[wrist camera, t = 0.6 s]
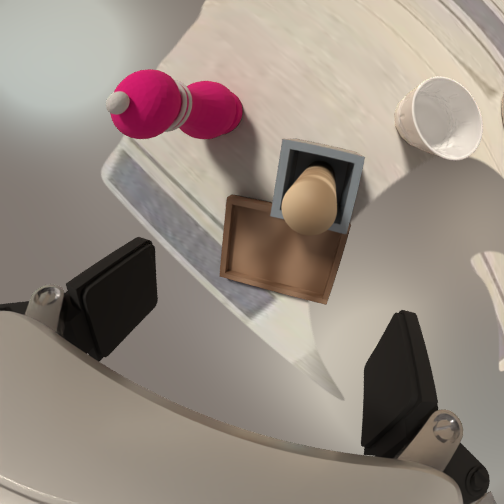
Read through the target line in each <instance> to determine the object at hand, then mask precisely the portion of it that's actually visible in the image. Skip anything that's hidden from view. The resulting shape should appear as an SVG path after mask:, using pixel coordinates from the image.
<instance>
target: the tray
mask: <svg viewBox="0 0 504 504" xmlns="http://www.w3.org/2000/svg"><path fill="white" fill-rule="evenodd" d="M271 208H272V203H271V202H267V201H262V200H257V199H252V198H247V197H242V196H237V195H230V196H228V197H227V202H226V212H225V222H224V232H223V243H222V254H221V265H220V277H224V278H227V279H231V280H234V281H238V282H242V283H245V284H249V285H252V286H256V287H260V288H264V289H267V290H271V291H275V292H279V293H282V294H286V295H290V296H294V297H298V298H302V299H306V300H310V301H314V302H318V303H322V304H327V301H328V298H329V295H330V292H331V289H332V286H333V283H334V280H335V277H336V274H337V271H338V268H339V264H340V261H341V258H342V255H343V251H344V248H345V244H346V241H347V237H348V234H349V230H350V227H351V224H350V223H349V226H348V230H347V234H342V233H338V232H335V231H331V230H326V231H325V232H323V233H321V234H318V235H312V236H309V235H303V234H300V233H297V232H296V231H294V230H293V229H291V228H290V227H289V226H288V224H287V223H286V221H285V220H284V219H281V218H276V217H272V216H270V215H271Z"/></svg>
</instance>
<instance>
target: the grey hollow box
mask: <svg viewBox="0 0 504 504" xmlns="http://www.w3.org/2000/svg"><path fill="white" fill-rule="evenodd" d="M364 159H365V157H364V156H362V155H360V154H359V153H357V152H354V151H350V150H346V149H342V148H338V147H334V146H329V145H325V144H320V143H315V142H311V141H306V140H300V139H282V146H281V152H280V159H279V165H278V171H277V178H276V184H275V190H274V196H273V202H272V208H271V215H270V216H272V217H276V218H281V219H284V217H283V214H282V201H283V198H284V196H285V194H286V192H287V191H288V190H289V189H290V187H291V186H292V185H293V184H294V183H295V181H296V180H297V179H298V178H299V176H300V175H301V174H302V173H303V172H304V170H305V169H306V168H307V167H308V166H309V165H310V164H311V163H312V162H314V161H325V162H327V163H328V164H330V165H331V166H332V168H333V170H334V173H335V184H336V199H337V215H336V218H335V221H334V223H333V224H332V226H331V227H330V228H329V229H328V230H331V231H335V232H338V233H342V234H347V230H348V226H349V223H350V219H351V215H352V211H353V207H354V203H355V199H356V195H357V191H358V187H359V182H360V178H361V173H362V169H363V164H364Z"/></svg>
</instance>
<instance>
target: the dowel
mask: <svg viewBox="0 0 504 504" xmlns="http://www.w3.org/2000/svg"><path fill="white" fill-rule="evenodd" d="M282 214H283V217H284V220H285V221H286V223H287V224H288V226H289V227H290V228H291V229H293V230H294V231H296V232H297V233H300V234H303V235H309V236H312V235H318V234H321V233H323V232H325V231H326V230H328V229H329V228H330V227H331V226H332V224H333V223H334V221H335V218H336V215H337V199H336V184H335V173H334V170H333V168H332V166H331V165H330V164H328V163H327V162H325V161H314V162H312V163H311V164H310V165H309V166H308V167H307V168H306V169H305V170H304V172H303V173H302V174H301V175H300V176H299V178H298V179H297V180H296V181H295V183H294V184H293V185H292V186H291V187H290V189H289V190H288V191H287V192H286V194H285V196H284V198H283V201H282Z"/></svg>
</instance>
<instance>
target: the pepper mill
mask: <svg viewBox="0 0 504 504" xmlns="http://www.w3.org/2000/svg"><path fill="white" fill-rule="evenodd" d="M106 107H107V110H108V111H109V112H110V114H111V118H112V121H113V123H114V125H115V126H116V127H117V129H118V130H119V131H120V132H122V133H123V134H124V135H126V136H129V137H131V138H136V139H149V138H152V137H156V136H158V135H160V134H161V133H163V132H168V131H173V130H175V129H177V128H180V129H181V130H182V131H183V132H184V133H186V134H187V135H189V136H191V137H194V138H198V139H212V138H215V137H218V136H220V135H222V134H226V133H228V132H230V131H232V130H233V129H235V128H236V127H237V125H238V124H239V122H240V120H241V118H242V112H243V111H242V104H241V102H240V100H239V98H238V97H237V96H236V95H235V94H234V93H232V92H230V90H229V89H227V88H226V87H225V86H224V85H222V84H220V83H217V82H212V81H200V82H196V83H192V84H190V85H189V86H186V85H184V84H183V83H181V82H179V81H176V80H173V79H172V78H171V76H169V75H167V74H166V73H164V72H161V71H158V70H140V71H137V72H134V73H132V74H131V75H129V76H127V77H126V78H125V79H124V80H123V81H122V82H121V83H120V84H119V85H118V86H117V88H116V89H115V91H114V93H113V94H111V95H110V96H109V97H108V99H107V101H106Z"/></svg>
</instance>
